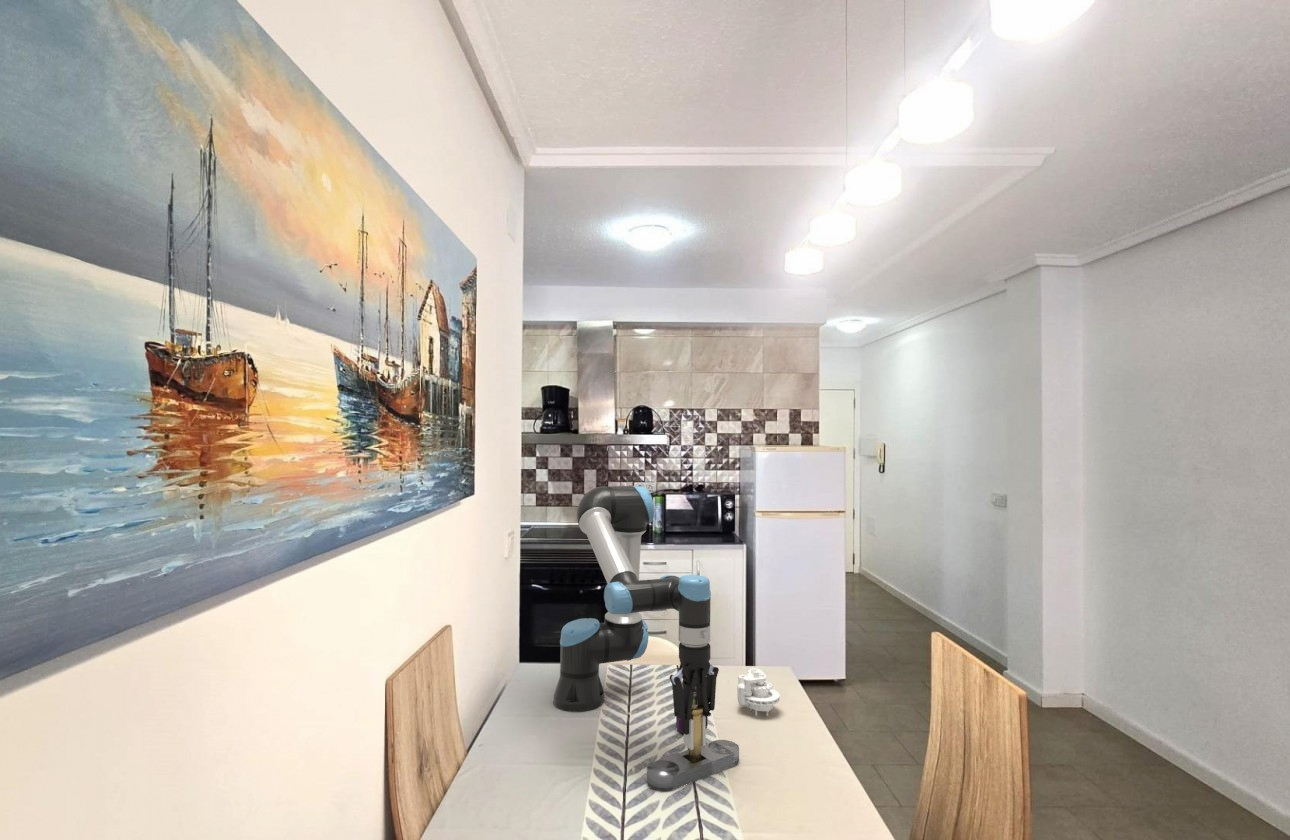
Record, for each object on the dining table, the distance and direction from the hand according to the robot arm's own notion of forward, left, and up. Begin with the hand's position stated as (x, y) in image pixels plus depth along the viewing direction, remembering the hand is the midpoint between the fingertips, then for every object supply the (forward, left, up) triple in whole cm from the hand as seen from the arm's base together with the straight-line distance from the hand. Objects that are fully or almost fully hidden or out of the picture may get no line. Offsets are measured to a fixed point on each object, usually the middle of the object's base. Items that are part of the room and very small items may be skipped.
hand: (694, 744), depth 138 cm
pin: (0, 0, -6) cm, 6 cm away
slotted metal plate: (0, 0, -6) cm, 6 cm away
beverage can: (-17, +12, -6) cm, 22 cm away
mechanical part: (-15, +36, -6) cm, 39 cm away
